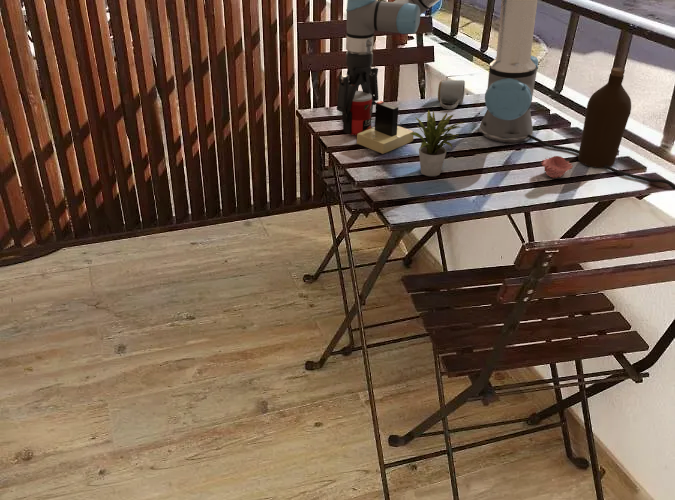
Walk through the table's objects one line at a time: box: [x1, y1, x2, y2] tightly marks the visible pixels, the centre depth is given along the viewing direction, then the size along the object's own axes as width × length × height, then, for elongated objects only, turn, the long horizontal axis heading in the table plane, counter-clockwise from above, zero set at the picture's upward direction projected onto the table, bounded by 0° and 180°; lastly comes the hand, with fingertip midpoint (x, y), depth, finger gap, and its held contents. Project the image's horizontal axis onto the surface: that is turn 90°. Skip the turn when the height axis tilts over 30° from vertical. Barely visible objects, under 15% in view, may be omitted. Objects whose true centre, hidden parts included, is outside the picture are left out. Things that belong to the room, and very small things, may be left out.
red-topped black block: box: [374, 100, 399, 137], centre depth 181 cm, size 6×2×8 cm, turn 44°
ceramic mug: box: [437, 79, 466, 110], centre depth 210 cm, size 11×8×8 cm
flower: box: [541, 155, 574, 179], centre depth 166 cm, size 8×8×6 cm
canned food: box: [346, 90, 372, 137], centre depth 188 cm, size 8×8×11 cm
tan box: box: [356, 125, 415, 155], centre depth 184 cm, size 13×11×3 cm
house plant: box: [410, 109, 464, 177], centre depth 163 cm, size 14×14×16 cm
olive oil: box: [577, 67, 632, 169], centre depth 169 cm, size 11×11×25 cm
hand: (357, 128), depth 191 cm, fingers closed on canned food, 8 cm apart
